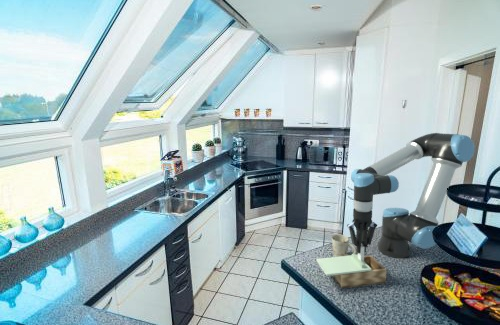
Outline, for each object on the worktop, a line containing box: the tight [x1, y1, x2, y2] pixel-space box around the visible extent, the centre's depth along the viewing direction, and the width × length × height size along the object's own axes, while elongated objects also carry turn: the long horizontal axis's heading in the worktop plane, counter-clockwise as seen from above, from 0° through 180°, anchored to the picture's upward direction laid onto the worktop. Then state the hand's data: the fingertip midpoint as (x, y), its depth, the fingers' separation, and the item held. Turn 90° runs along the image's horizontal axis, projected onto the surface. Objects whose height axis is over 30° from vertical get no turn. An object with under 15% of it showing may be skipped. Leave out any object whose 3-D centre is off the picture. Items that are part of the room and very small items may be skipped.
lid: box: [315, 253, 372, 277], centre depth 117 cm, size 20×12×2 cm, turn 96°
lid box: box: [332, 254, 387, 289], centre depth 119 cm, size 20×12×6 cm, turn 96°
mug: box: [331, 234, 357, 257], centre depth 135 cm, size 8×13×10 cm, turn 51°
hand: (360, 259), depth 118 cm, fingers closed
